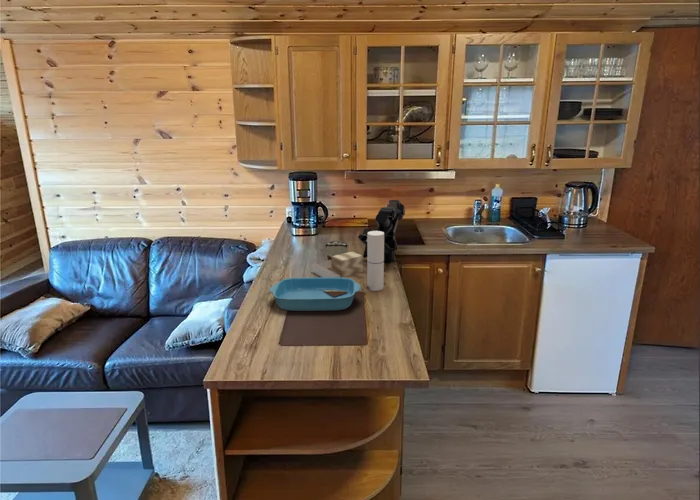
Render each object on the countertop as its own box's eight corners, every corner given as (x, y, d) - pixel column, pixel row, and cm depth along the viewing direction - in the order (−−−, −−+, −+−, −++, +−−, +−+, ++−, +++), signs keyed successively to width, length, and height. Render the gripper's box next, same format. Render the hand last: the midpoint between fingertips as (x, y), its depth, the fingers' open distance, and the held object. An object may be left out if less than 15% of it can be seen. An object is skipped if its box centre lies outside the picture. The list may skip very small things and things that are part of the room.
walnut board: (360, 262, 238) (360, 260, 237) (385, 274, 222) (385, 271, 222) (310, 275, 222) (310, 272, 221) (334, 288, 206) (334, 285, 206)
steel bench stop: (316, 271, 223) (315, 263, 222) (340, 283, 207) (339, 275, 206) (311, 272, 221) (311, 264, 220) (335, 285, 206) (335, 276, 205)
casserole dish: (265, 314, 183) (264, 297, 181) (275, 291, 204) (274, 276, 202) (360, 314, 182) (360, 297, 180) (360, 291, 203) (360, 276, 201)
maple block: (352, 267, 228) (352, 251, 225) (362, 271, 221) (362, 255, 219) (332, 272, 221) (331, 256, 218) (341, 277, 215) (341, 260, 212)
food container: (350, 258, 244) (349, 240, 241) (348, 262, 238) (348, 243, 235) (326, 258, 245) (326, 239, 242) (324, 262, 239) (324, 243, 236)
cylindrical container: (364, 289, 205) (364, 234, 197) (371, 283, 211) (371, 230, 203) (379, 291, 202) (380, 236, 194) (386, 286, 208) (386, 232, 200)
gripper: (360, 218, 230) (342, 243, 227) (385, 225, 215) (366, 253, 213) (373, 230, 237) (355, 255, 234) (397, 239, 222) (379, 266, 219)
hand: (363, 257), depth 225 cm, fingers closed
